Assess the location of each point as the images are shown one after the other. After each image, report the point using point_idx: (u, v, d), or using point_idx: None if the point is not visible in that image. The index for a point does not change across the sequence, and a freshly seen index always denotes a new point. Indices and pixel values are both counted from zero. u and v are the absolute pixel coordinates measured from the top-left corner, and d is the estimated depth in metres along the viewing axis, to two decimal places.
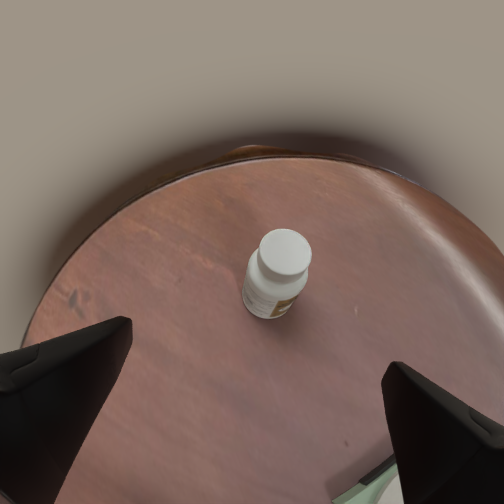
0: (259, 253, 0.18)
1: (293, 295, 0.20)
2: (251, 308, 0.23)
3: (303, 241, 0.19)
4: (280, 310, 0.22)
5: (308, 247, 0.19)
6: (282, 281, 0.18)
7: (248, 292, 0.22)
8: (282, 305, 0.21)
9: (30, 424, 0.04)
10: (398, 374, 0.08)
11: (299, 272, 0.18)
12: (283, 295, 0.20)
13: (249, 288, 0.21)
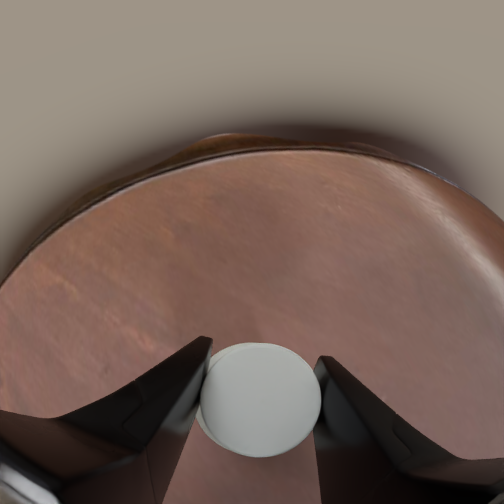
0: (201, 408, 0.07)
1: None
2: None
3: (304, 372, 0.08)
4: None
5: (315, 386, 0.07)
6: None
7: None
8: None
9: (148, 476, 0.04)
10: (322, 369, 0.08)
11: (292, 447, 0.07)
12: None
13: None
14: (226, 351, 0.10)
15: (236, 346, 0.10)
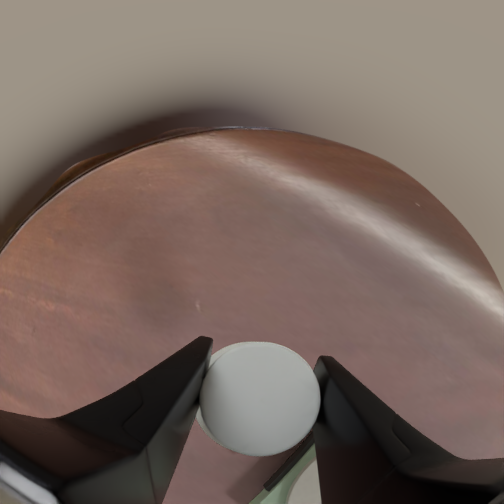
0: (200, 407, 0.07)
1: None
2: None
3: (303, 371, 0.08)
4: None
5: (314, 385, 0.07)
6: None
7: None
8: None
9: (148, 476, 0.04)
10: (322, 369, 0.08)
11: (291, 446, 0.07)
12: None
13: None
14: (225, 350, 0.10)
15: (235, 345, 0.10)
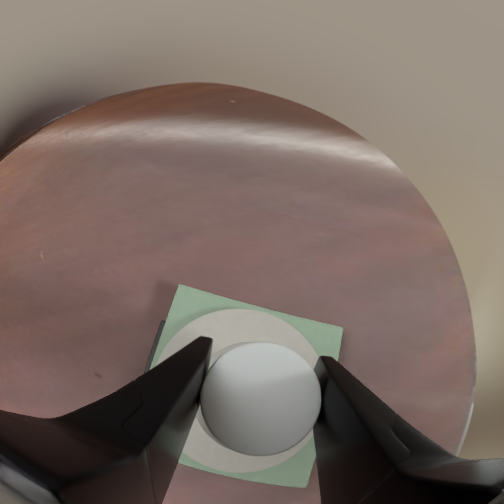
0: (201, 406, 0.07)
1: None
2: None
3: (304, 371, 0.08)
4: None
5: (315, 385, 0.07)
6: None
7: None
8: None
9: (148, 476, 0.04)
10: (322, 369, 0.08)
11: (292, 446, 0.07)
12: None
13: None
14: (226, 350, 0.10)
15: (236, 345, 0.10)
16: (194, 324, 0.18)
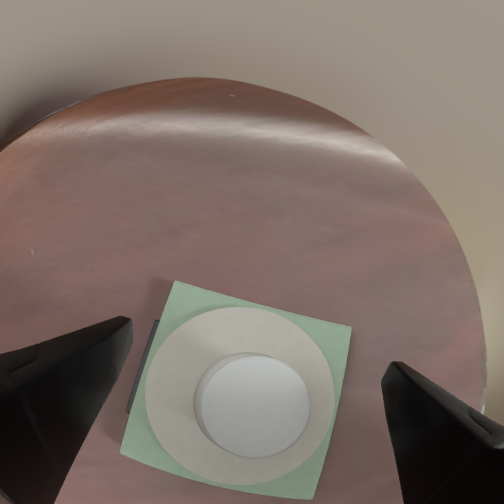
0: None
1: None
2: None
3: (295, 382, 0.08)
4: None
5: (305, 394, 0.08)
6: None
7: None
8: None
9: (30, 424, 0.04)
10: (397, 374, 0.08)
11: (283, 450, 0.07)
12: None
13: None
14: (224, 360, 0.11)
15: (234, 356, 0.11)
16: (190, 323, 0.16)
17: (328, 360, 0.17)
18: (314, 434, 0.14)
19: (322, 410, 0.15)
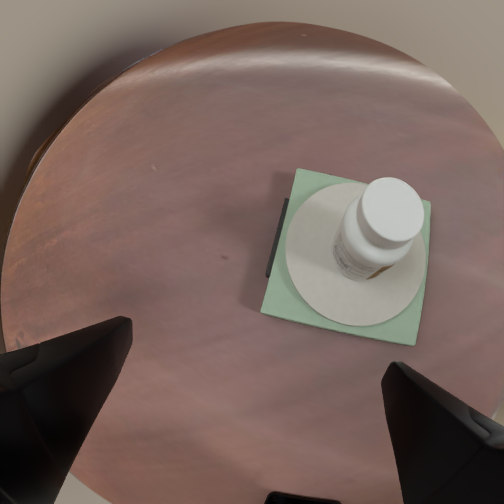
0: (362, 213, 0.13)
1: (400, 259, 0.15)
2: (345, 271, 0.19)
3: (412, 193, 0.13)
4: (380, 273, 0.17)
5: (419, 201, 0.13)
6: (391, 247, 0.13)
7: (343, 255, 0.17)
8: (384, 269, 0.16)
9: (30, 424, 0.04)
10: (397, 373, 0.08)
11: (413, 235, 0.12)
12: (389, 262, 0.14)
13: (345, 251, 0.16)
14: (361, 195, 0.15)
15: None
16: (316, 195, 0.22)
17: None
18: (414, 280, 0.19)
19: (417, 260, 0.19)
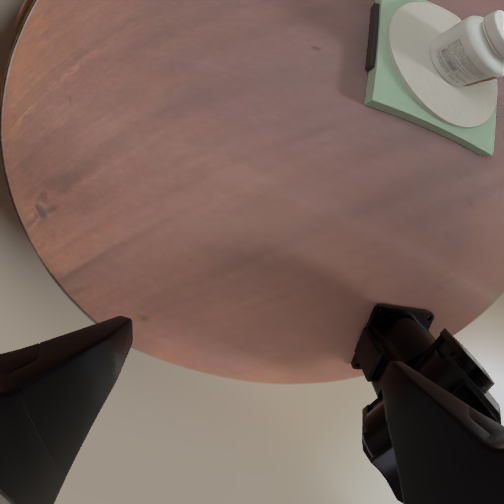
0: (496, 29, 0.07)
1: None
2: (448, 73, 0.13)
3: None
4: (479, 82, 0.12)
5: None
6: None
7: (457, 58, 0.11)
8: (488, 80, 0.11)
9: (30, 424, 0.04)
10: (398, 373, 0.08)
11: None
12: (501, 74, 0.10)
13: (462, 55, 0.11)
14: (475, 16, 0.08)
15: (478, 16, 0.08)
16: (408, 6, 0.13)
17: None
18: (491, 99, 0.14)
19: (492, 83, 0.14)
